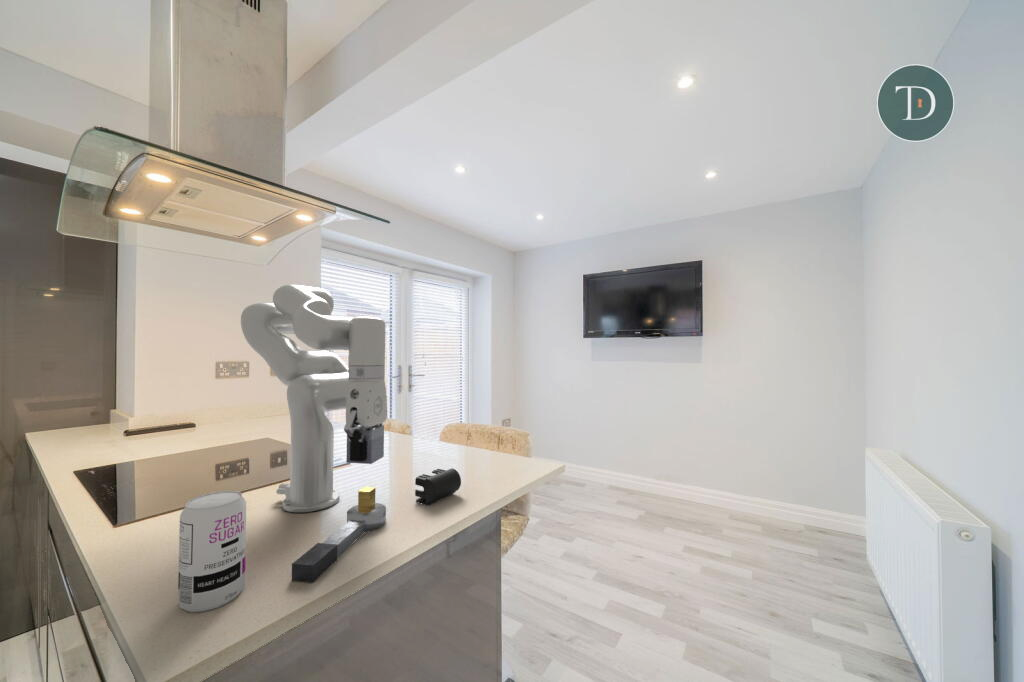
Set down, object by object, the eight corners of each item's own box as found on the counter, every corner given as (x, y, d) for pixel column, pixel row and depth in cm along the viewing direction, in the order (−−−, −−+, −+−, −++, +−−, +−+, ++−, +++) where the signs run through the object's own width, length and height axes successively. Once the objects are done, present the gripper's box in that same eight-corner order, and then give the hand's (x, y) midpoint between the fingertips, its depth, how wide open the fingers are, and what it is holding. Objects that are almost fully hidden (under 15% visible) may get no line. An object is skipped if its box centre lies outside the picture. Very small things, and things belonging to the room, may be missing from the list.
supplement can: (202, 582, 64) (204, 490, 65) (255, 580, 65) (257, 489, 65) (163, 616, 56) (165, 510, 56) (224, 613, 57) (226, 509, 57)
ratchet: (279, 579, 65) (280, 534, 65) (358, 515, 91) (359, 482, 91) (324, 583, 64) (325, 537, 64) (391, 517, 90) (392, 483, 90)
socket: (346, 462, 84) (347, 429, 84) (360, 455, 89) (360, 424, 89) (371, 464, 83) (371, 430, 83) (383, 456, 88) (384, 425, 88)
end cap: (434, 509, 94) (435, 480, 95) (413, 502, 98) (414, 475, 98) (461, 495, 103) (461, 469, 103) (440, 490, 107) (441, 465, 107)
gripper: (362, 376, 77) (360, 469, 77) (399, 371, 94) (398, 447, 94) (327, 376, 78) (325, 467, 78) (370, 371, 95) (369, 446, 95)
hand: (365, 455), depth 86 cm, fingers closed on socket, 5 cm apart
